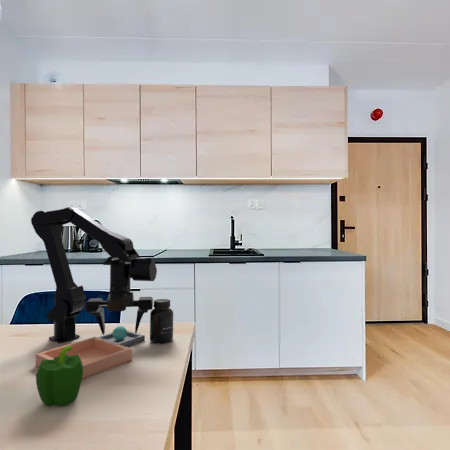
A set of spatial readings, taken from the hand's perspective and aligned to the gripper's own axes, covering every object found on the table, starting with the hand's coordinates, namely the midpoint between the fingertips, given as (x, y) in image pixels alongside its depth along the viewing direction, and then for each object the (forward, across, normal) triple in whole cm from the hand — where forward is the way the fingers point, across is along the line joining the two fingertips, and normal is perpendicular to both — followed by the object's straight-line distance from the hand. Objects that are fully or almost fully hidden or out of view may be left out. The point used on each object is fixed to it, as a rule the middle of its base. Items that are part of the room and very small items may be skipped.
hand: (119, 333), depth 100 cm
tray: (+2, 0, 0) cm, 2 cm away
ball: (0, 0, 0) cm, 0 cm away
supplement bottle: (+3, +12, -1) cm, 12 cm away
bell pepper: (+3, -6, -33) cm, 34 cm away
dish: (+2, -6, -15) cm, 16 cm away
